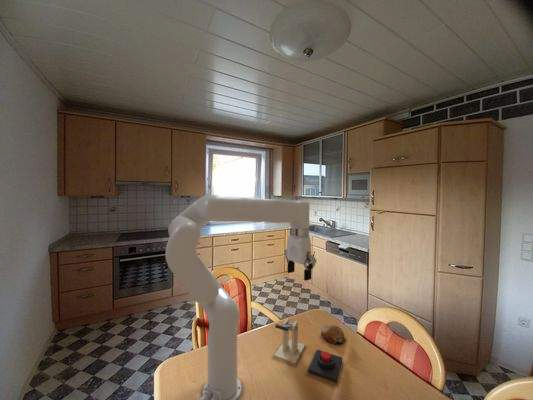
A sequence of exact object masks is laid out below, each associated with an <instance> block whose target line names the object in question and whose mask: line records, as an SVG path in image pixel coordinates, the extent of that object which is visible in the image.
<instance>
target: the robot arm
mask: <svg viewBox="0 0 533 400" xmlns="http://www.w3.org/2000/svg"><path fill="white" fill-rule="evenodd" d="M209 222H222V223H223V222H227V223H228V222H239V223H240V222H241V223H243V222H244V223H245V222H247V223H248V222H250V223H289V234H288V236H287V240H286V241H287V242H286V249H284V251H283V252H284V255H285V260H286V263H287V273H288V274H291V273H294V272H295V269H296V268H295V264H298V265H303V267H304V270H303V280H304V281H305V282H307V281H310V280H312V270H313V269H314V267H316V264H317V258H316V257H314V255H313V254H312V243H311V236H310V203H309V201H307V200H291V199H290V200H289V199H288V200H287V199H271V198H269V199H268V198H261V197H255V196H240V195H225V194H224V195H223V194H222V195H221V194H205V195H202V196H200V197H199V198H198V199H197V200H196V201H195V202H193V203H192V204H190V205H189V206H188V207H187V208H185V209H184V210H183V211H182V212H181V213H180V214H178V215H177V216H176V217H175V218H174V219H172V221H171V222H170V223H169V225H168V229H167V230H168V236H169V238H168V241H167V243H166V246H165V253H164V254H165V262H166V264H167V266H168V268H169V270H170V271H171V273H172V274H173V275H174V276H175V278H176V279H177V281H178V282H179V283H180V285H182V287H183V288H184V289H185V291H186V292H187V294H188V295H189V297H190V298H191V299H192V300H193V301H194V302H195V303H197V304H198V305H199V306H200V307H201V308H202V309H203V311H204V313H205V315H206V318H207V321H208V332H207V381H206V383H205V384H204V386H203V389H202V397H200V398H199V400H237V399H239V397H240V395H241V393H242V389H243V388H242V387H243V386H242V382H241V381H240V379H239V378H238V329H239V323H240V308H239V306H238V304H237V302H236V301H235V300H234V299H233V297H232V296H231V295H230V294H229V293H228V292H227V291H226V290H225V288H224V287H223V285H221V283H220V282H219V281H218V279H217V277H216V275H215V274H214V273H213V271H211V269H210V268H209V267H207V265H206V264H205V262H204V261H203V259H202V258H201V257H200V255H199V254H198V252H197V247H198V244H199V242H200V240H201V237H202V230H201V229H202V228H203V227H204V226H206V225H207V224H208V223H209Z"/></svg>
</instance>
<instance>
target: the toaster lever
mask: <svg viewBox="0 0 533 400" xmlns="http://www.w3.org/2000/svg"><path fill="white" fill-rule="evenodd" d="M293 324H294V322H293V323H292V322H289V323H287V325H284V326H283V325H280V324H275V325H274V328H275V329H279V330H282V331H283V330H285V331H288V330H289V331H291V332H292V325H293Z"/></svg>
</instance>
